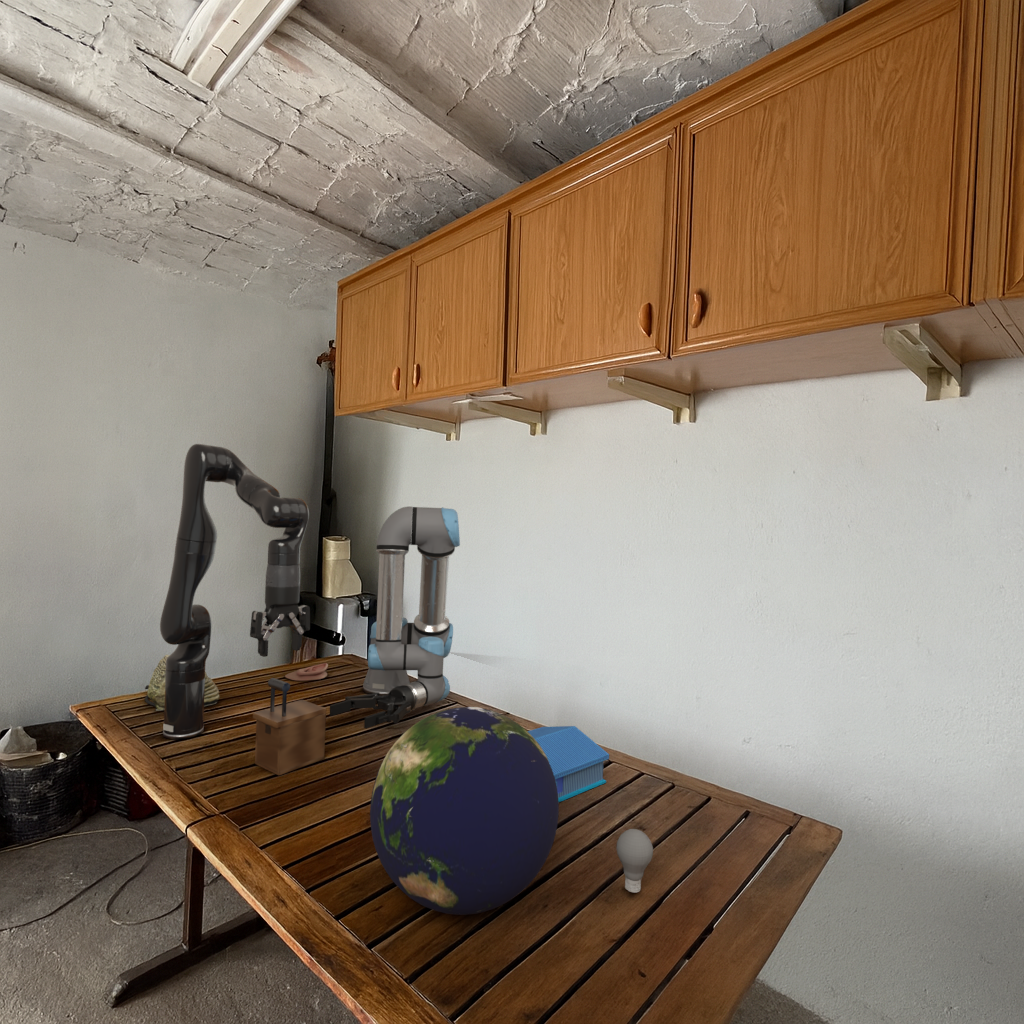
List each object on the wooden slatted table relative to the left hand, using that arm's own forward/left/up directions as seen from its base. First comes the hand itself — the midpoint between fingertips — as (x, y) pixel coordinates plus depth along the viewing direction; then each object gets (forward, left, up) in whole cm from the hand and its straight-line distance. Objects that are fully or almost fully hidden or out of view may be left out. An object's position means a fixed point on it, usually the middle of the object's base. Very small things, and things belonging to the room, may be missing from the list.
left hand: (280, 652), depth 147 cm
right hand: (-4, +20, -20) cm, 29 cm away
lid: (-1, +3, -16) cm, 16 cm away
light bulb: (+82, +26, -27) cm, 90 cm away
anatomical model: (-64, +38, -27) cm, 79 cm away
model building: (+44, +36, -27) cm, 63 cm away
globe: (+65, +3, -27) cm, 71 cm away
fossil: (-55, -4, -27) cm, 62 cm away
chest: (-1, +4, -27) cm, 27 cm away
